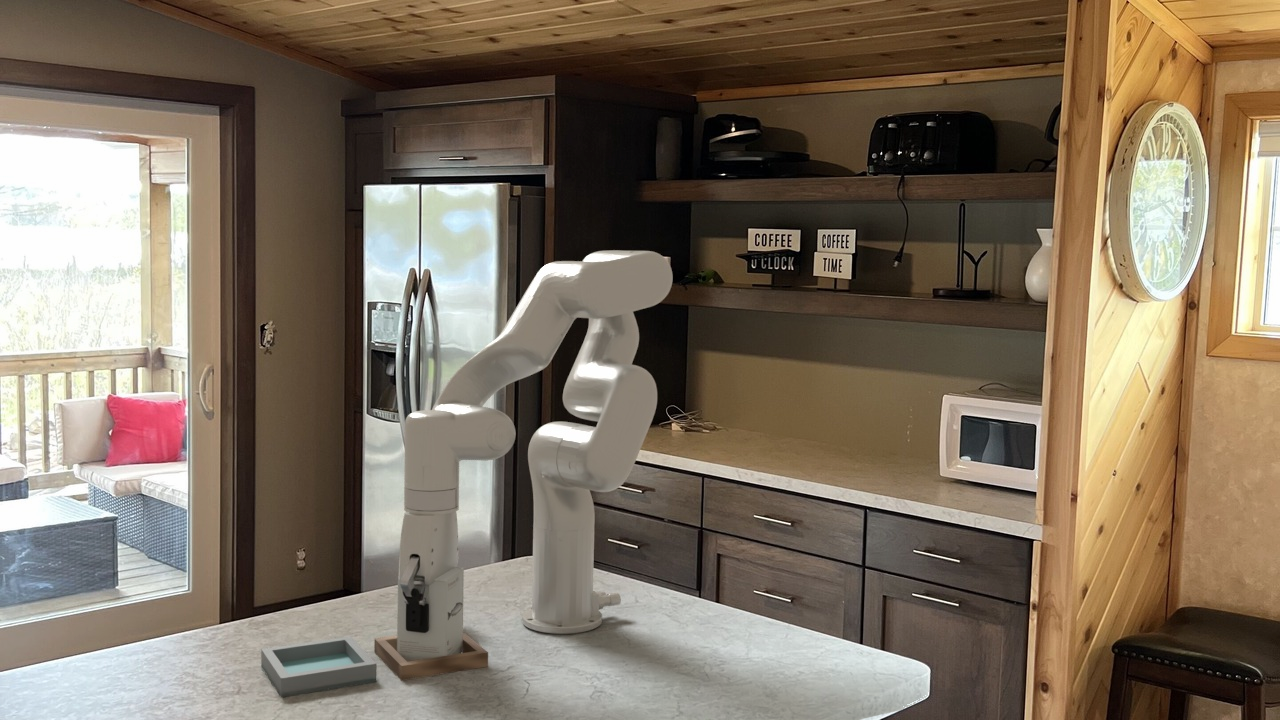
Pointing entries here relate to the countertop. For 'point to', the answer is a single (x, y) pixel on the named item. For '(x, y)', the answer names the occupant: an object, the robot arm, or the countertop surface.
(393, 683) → the countertop surface
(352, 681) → the dock
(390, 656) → the wooden picture frame
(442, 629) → the supplement box
